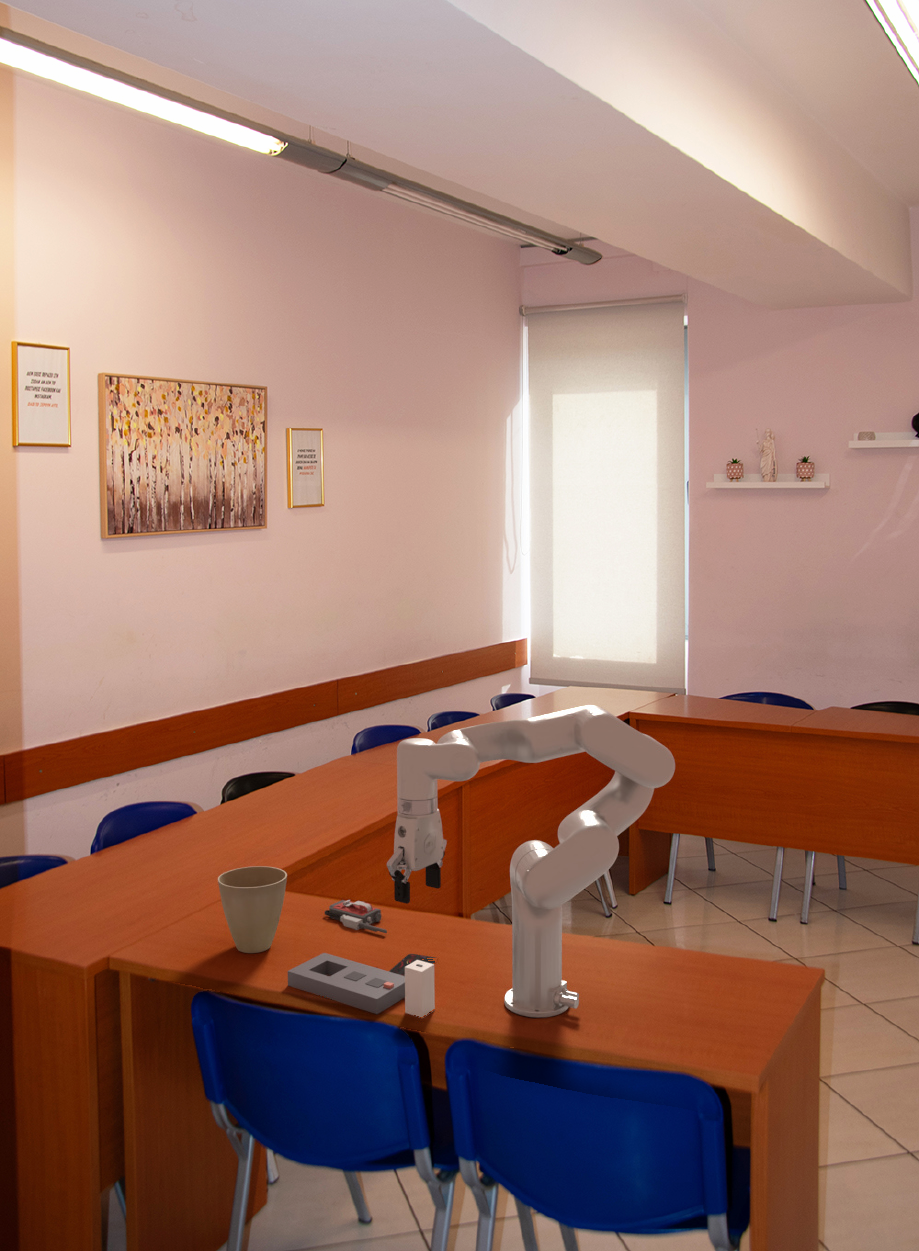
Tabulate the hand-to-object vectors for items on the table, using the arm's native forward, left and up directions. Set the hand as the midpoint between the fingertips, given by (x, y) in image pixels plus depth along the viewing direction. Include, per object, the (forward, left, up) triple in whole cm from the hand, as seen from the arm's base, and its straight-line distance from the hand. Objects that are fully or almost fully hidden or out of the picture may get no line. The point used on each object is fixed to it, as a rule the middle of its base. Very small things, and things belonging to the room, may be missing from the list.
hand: (418, 894), depth 198 cm
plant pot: (+49, -5, -23) cm, 54 cm away
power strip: (+17, 0, -23) cm, 28 cm away
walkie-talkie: (+38, -29, -24) cm, 53 cm away
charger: (0, 0, -23) cm, 23 cm away
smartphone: (+13, -14, -24) cm, 30 cm away
